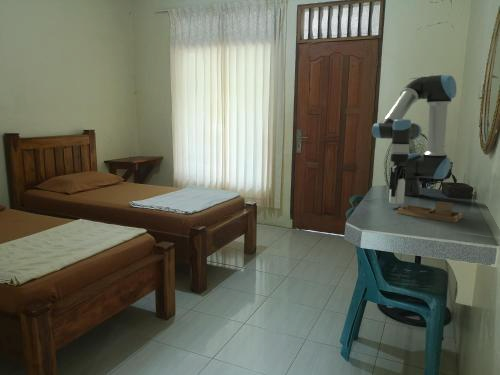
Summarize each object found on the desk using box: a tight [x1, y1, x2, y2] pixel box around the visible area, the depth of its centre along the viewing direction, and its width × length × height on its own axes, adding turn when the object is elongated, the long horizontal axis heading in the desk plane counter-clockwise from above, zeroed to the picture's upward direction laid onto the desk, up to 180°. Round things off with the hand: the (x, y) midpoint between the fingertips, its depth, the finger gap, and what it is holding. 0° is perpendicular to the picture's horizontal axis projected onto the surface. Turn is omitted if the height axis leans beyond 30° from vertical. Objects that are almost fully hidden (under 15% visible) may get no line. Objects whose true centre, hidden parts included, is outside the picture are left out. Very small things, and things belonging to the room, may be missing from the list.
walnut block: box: [434, 201, 454, 217], centre depth 162 cm, size 6×6×6 cm
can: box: [388, 178, 405, 205], centre depth 181 cm, size 6×6×12 cm
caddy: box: [397, 204, 464, 224], centre depth 166 cm, size 12×23×3 cm, turn 48°
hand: (396, 202), depth 182 cm, fingers closed on can, 6 cm apart
